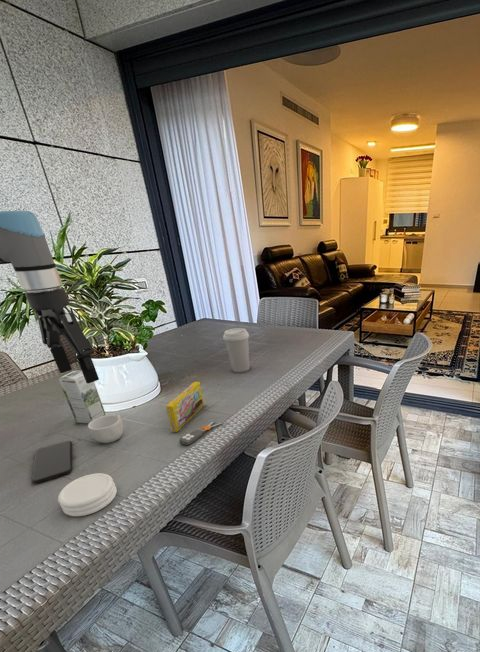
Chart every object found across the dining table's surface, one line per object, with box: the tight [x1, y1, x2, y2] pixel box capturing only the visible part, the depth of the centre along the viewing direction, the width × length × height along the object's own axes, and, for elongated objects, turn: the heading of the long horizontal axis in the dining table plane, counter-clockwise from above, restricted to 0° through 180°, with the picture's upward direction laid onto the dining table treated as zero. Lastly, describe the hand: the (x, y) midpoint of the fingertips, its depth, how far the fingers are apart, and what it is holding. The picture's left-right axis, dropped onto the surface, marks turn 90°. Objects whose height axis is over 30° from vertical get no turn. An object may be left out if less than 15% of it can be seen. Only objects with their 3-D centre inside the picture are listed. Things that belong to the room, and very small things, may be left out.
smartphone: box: [31, 440, 73, 484], centre depth 87 cm, size 8×1×16 cm
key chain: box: [179, 421, 224, 446], centre depth 96 cm, size 13×4×2 cm, turn 151°
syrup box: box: [58, 370, 107, 424], centre depth 102 cm, size 6×6×14 cm
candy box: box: [165, 381, 205, 433], centre depth 102 cm, size 16×2×8 cm, turn 170°
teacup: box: [87, 413, 124, 444], centre depth 95 cm, size 10×8×5 cm
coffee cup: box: [222, 327, 251, 373], centre depth 133 cm, size 10×10×15 cm
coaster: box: [57, 472, 118, 517], centre depth 74 cm, size 10×10×4 cm
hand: (79, 376), depth 90 cm, fingers open, 13 cm apart
